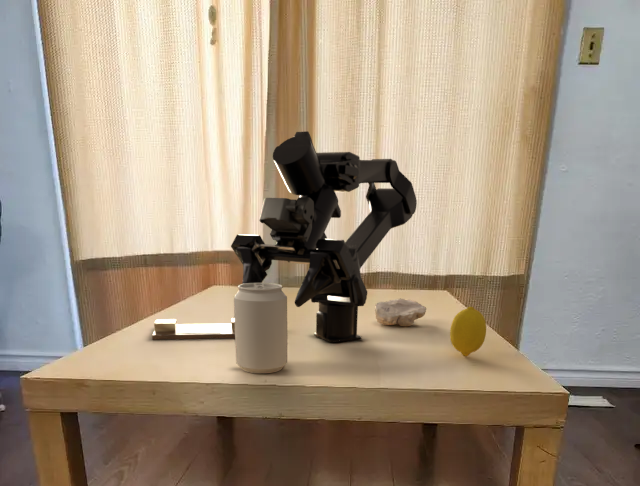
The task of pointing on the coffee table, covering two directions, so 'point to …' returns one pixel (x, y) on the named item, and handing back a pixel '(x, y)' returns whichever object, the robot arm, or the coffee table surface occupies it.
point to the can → (260, 327)
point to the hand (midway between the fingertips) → (269, 301)
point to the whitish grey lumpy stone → (399, 312)
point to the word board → (191, 330)
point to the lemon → (468, 331)
